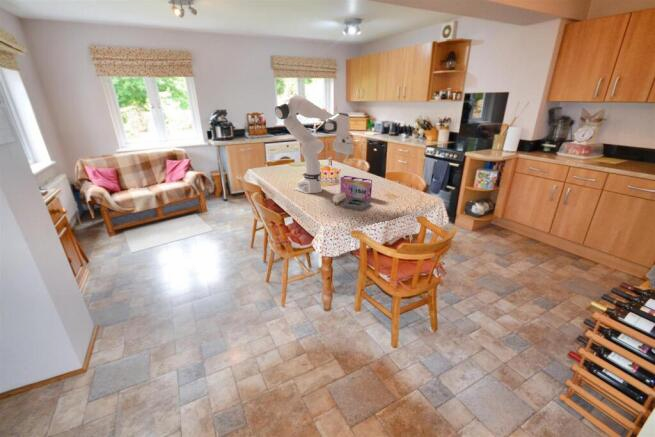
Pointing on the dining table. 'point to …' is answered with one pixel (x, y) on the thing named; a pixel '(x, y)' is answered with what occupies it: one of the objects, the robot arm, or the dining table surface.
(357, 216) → the dining table surface
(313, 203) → the dining table surface
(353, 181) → the gum box
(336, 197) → the beige block
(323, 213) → the dining table surface
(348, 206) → the keyhole plate
